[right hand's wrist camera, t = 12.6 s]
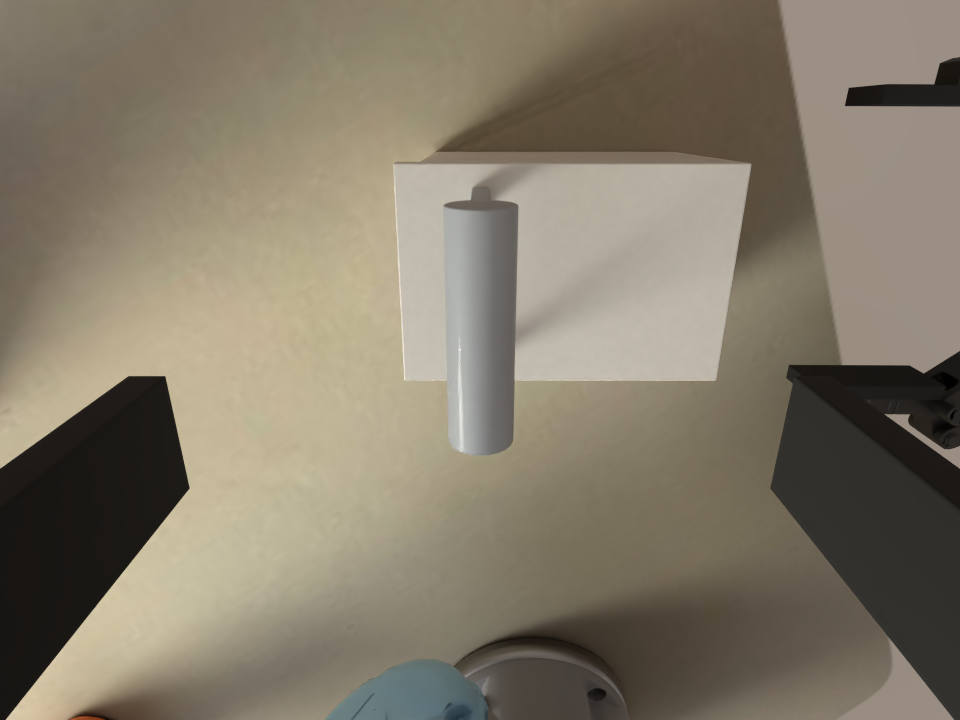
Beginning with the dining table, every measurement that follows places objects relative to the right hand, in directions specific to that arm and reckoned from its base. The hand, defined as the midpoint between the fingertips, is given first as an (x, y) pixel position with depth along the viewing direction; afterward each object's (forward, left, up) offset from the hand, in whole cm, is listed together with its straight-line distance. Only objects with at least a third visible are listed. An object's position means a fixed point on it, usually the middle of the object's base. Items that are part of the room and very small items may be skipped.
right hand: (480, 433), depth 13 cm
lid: (+1, -4, -14) cm, 14 cm away
